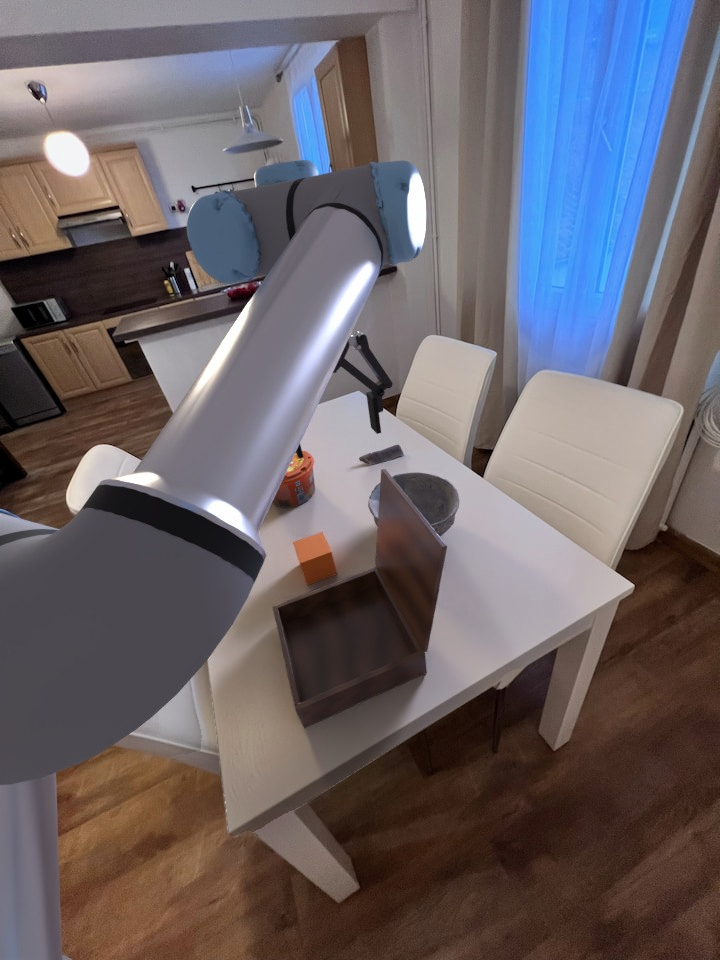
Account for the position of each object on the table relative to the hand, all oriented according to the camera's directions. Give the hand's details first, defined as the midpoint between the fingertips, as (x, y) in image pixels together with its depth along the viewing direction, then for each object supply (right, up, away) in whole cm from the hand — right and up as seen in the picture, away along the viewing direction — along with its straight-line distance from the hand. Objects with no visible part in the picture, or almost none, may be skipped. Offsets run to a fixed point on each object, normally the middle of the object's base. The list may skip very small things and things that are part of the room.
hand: (338, 442), depth 67 cm
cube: (-6, -26, +24) cm, 36 cm away
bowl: (+17, -18, +30) cm, 39 cm away
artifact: (+10, 0, +57) cm, 58 cm away
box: (+1, -37, +8) cm, 38 cm away
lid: (+10, -19, 0) cm, 22 cm away
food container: (-16, -10, +49) cm, 52 cm away
